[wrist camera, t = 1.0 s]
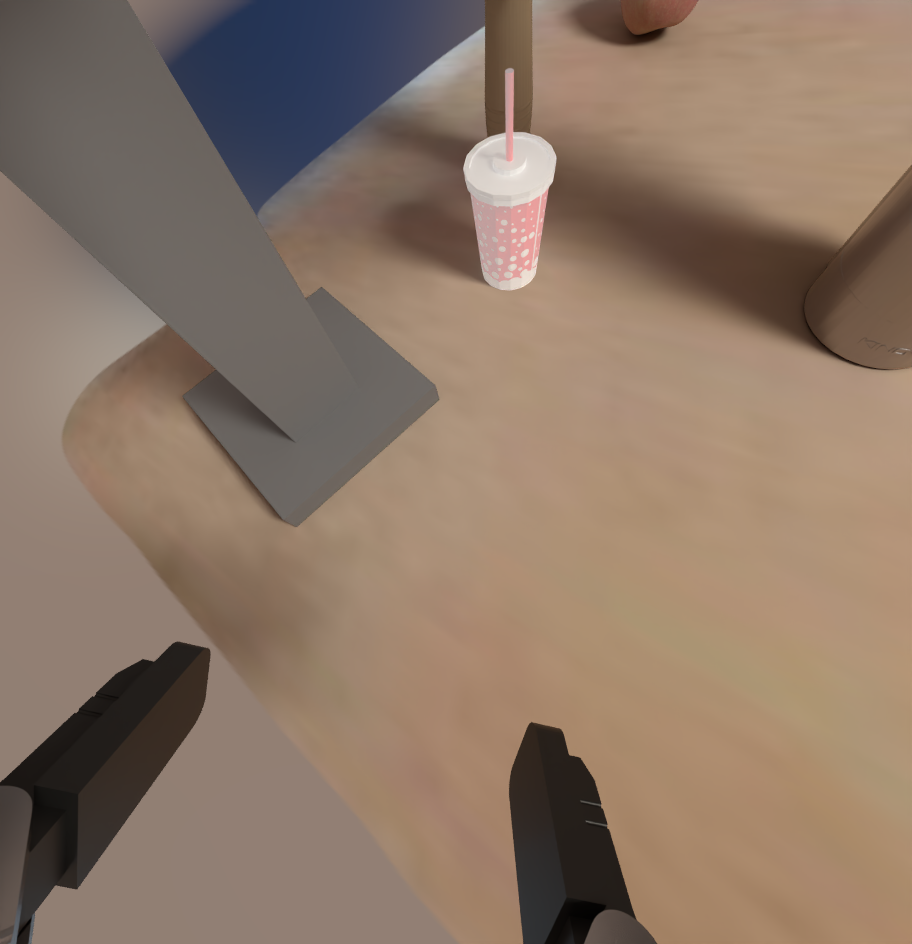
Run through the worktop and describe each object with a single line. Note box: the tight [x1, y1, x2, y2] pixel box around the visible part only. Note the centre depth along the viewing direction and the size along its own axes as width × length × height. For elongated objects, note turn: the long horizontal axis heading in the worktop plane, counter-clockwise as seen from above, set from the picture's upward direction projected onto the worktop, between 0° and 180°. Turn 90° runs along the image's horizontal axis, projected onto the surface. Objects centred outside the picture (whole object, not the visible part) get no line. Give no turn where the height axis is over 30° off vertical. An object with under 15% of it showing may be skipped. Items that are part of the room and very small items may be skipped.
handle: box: [485, 0, 533, 138], centre depth 35 cm, size 5×6×15 cm
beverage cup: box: [463, 68, 557, 290], centre depth 31 cm, size 6×6×14 cm
